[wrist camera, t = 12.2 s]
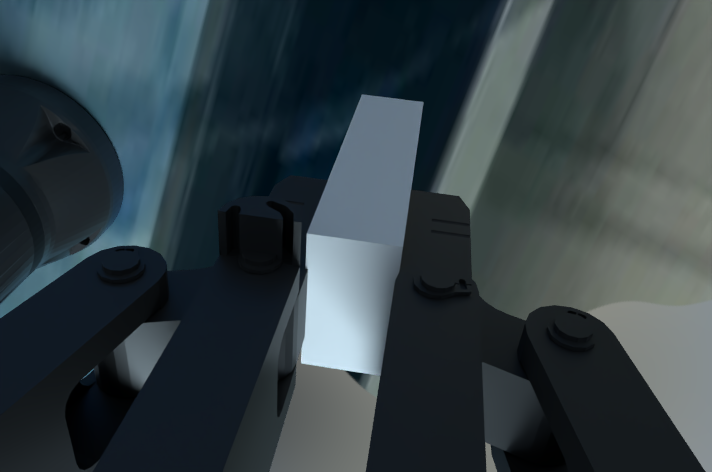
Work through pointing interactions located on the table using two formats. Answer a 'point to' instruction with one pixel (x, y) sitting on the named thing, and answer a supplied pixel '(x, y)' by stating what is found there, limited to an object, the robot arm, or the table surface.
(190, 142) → the table surface
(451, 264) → the robot arm
